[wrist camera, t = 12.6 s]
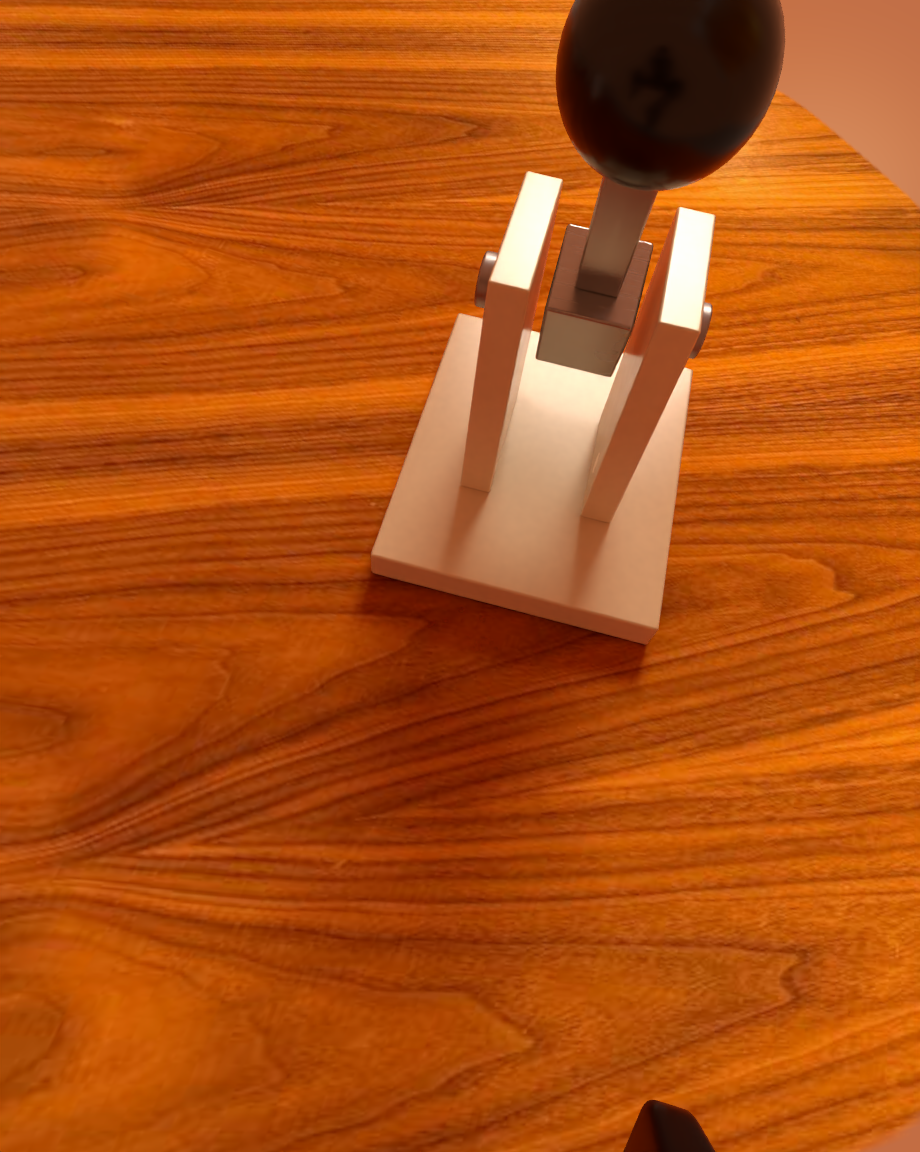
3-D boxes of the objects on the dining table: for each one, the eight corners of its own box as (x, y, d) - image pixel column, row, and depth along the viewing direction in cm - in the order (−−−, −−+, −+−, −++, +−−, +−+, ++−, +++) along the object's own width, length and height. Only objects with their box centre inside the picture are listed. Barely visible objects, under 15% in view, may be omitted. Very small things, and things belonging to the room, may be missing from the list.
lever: (802, 99, 10) (848, -116, 11) (544, 41, 10) (604, -167, 11) (630, 404, 21) (659, 288, 21) (505, 373, 21) (536, 259, 21)
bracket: (646, 646, 23) (782, 467, 15) (370, 573, 24) (359, 362, 16) (682, 391, 29) (798, 157, 21) (456, 336, 29) (481, 85, 21)
